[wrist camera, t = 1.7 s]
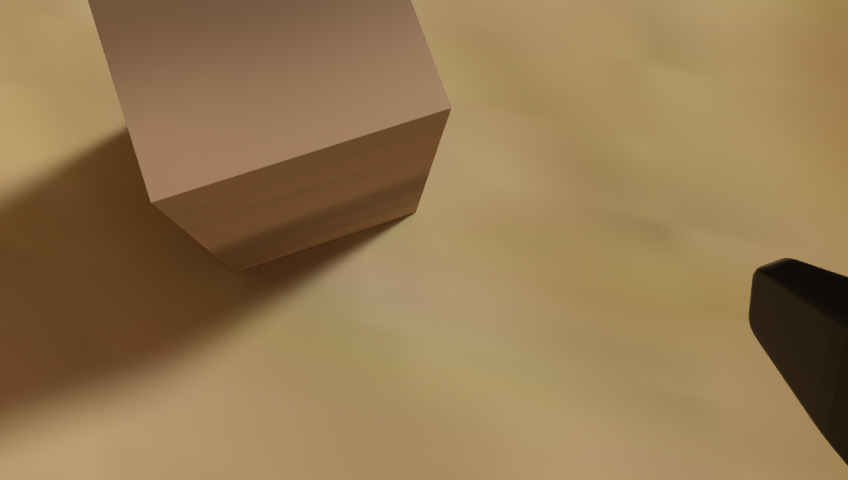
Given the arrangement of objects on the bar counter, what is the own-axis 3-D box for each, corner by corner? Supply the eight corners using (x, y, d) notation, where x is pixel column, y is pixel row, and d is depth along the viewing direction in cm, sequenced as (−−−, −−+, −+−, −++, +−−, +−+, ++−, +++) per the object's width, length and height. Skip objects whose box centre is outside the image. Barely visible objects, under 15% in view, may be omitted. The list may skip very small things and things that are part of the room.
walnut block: (415, 212, 23) (451, 107, 14) (234, 272, 22) (150, 202, 13) (355, 45, 23) (353, -154, 15) (178, 98, 23) (64, -79, 14)
